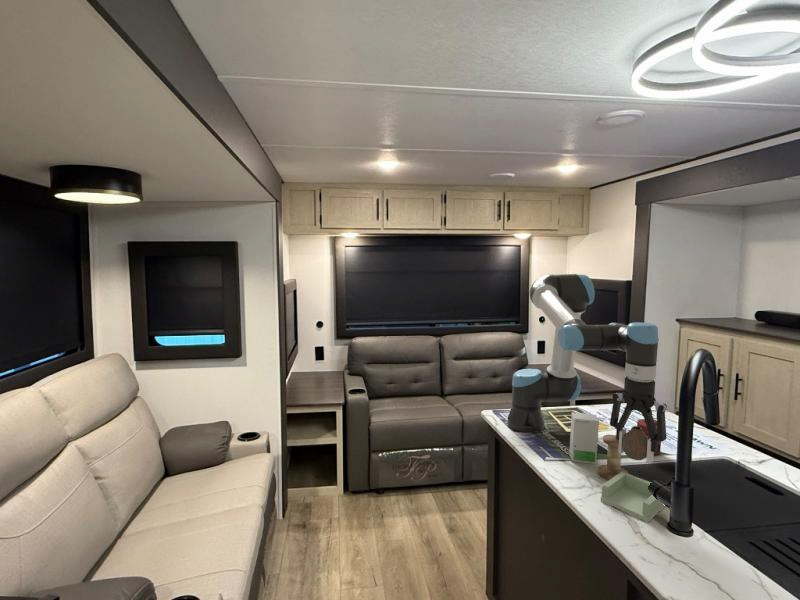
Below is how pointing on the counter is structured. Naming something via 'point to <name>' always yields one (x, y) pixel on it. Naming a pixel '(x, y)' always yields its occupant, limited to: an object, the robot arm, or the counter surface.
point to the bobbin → (611, 459)
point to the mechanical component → (643, 425)
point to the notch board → (631, 496)
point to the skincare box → (584, 438)
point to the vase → (635, 443)
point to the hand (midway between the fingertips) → (635, 456)
